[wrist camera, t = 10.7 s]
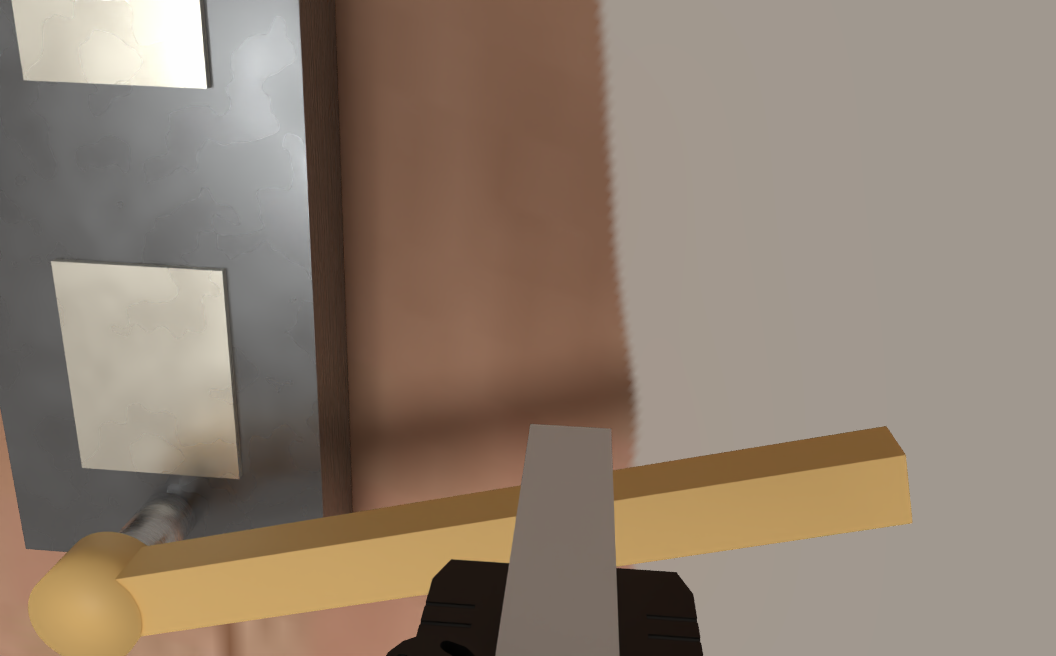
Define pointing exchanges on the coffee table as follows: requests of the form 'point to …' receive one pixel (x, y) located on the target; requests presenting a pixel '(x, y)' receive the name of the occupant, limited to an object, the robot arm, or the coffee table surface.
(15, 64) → the chassis
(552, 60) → the coffee table surface
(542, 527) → the robot arm
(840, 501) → the bar
